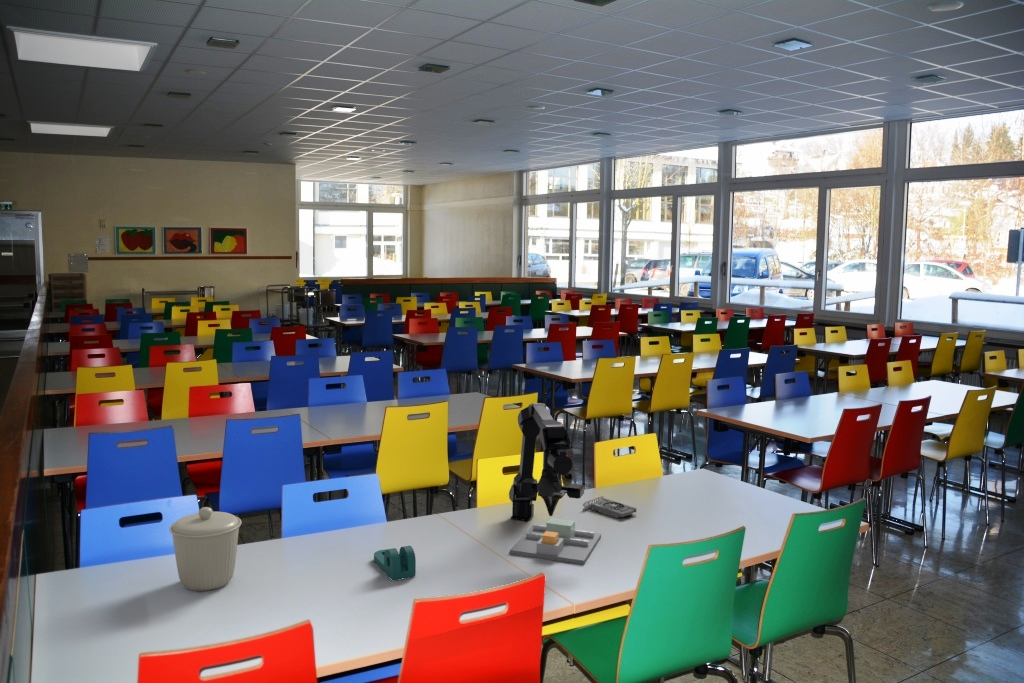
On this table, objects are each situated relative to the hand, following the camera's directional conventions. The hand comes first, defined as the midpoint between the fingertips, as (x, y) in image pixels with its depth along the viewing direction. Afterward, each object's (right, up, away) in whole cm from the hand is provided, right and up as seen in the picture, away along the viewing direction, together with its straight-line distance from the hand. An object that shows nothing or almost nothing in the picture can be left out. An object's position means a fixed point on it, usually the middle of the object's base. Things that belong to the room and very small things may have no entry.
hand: (551, 515), depth 240 cm
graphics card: (+23, -9, +41) cm, 48 cm away
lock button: (0, -11, +1) cm, 11 cm away
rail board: (+3, -11, +9) cm, 15 cm away
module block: (+4, -9, +12) cm, 16 cm away
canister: (-94, -13, -25) cm, 98 cm away
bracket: (-46, -13, -12) cm, 49 cm away
